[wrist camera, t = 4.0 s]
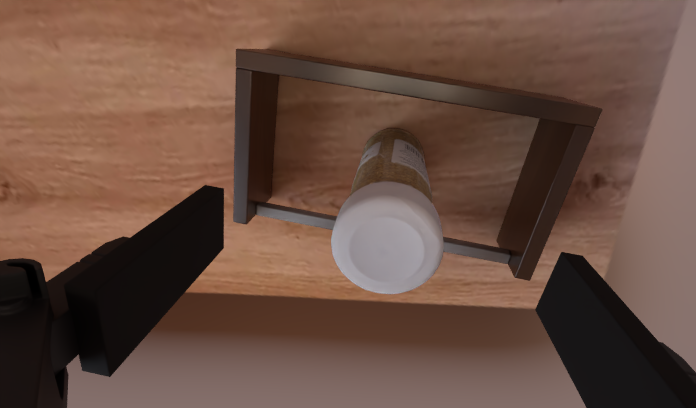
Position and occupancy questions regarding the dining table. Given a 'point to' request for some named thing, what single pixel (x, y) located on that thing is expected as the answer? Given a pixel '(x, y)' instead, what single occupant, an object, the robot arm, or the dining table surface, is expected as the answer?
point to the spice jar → (389, 218)
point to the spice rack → (554, 112)
